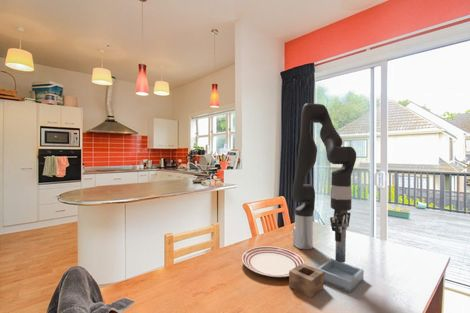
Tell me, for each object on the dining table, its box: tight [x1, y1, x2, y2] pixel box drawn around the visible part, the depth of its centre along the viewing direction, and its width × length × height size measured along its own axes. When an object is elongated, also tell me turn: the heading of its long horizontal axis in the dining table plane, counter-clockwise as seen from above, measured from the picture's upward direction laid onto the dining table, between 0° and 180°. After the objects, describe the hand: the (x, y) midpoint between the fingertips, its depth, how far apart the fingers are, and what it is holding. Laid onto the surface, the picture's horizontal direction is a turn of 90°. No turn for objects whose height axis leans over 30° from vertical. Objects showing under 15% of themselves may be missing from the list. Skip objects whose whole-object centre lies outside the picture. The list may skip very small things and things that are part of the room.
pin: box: [334, 222, 349, 263], centre depth 92 cm, size 5×5×15 cm
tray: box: [316, 258, 364, 294], centre depth 92 cm, size 13×13×4 cm
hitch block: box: [288, 263, 325, 299], centre depth 86 cm, size 9×9×6 cm
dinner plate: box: [241, 245, 306, 278], centre depth 103 cm, size 27×27×3 cm
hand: (340, 239), depth 92 cm, fingers closed on pin, 3 cm apart
